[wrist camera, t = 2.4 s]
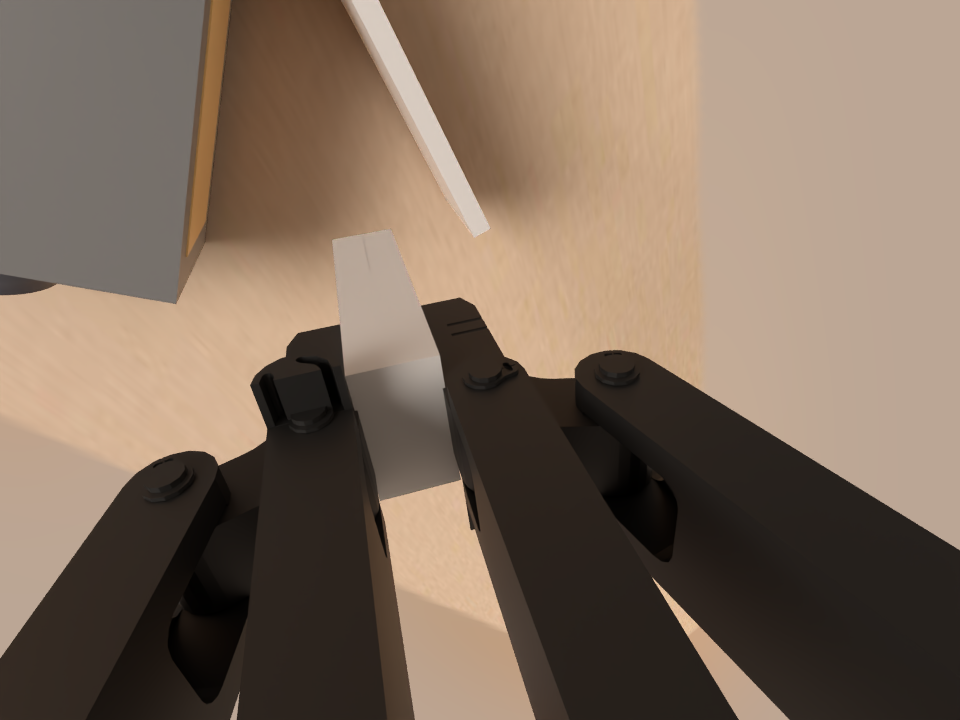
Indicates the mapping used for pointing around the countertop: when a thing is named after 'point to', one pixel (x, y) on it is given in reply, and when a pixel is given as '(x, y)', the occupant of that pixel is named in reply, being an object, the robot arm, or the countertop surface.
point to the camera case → (107, 141)
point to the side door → (415, 110)
